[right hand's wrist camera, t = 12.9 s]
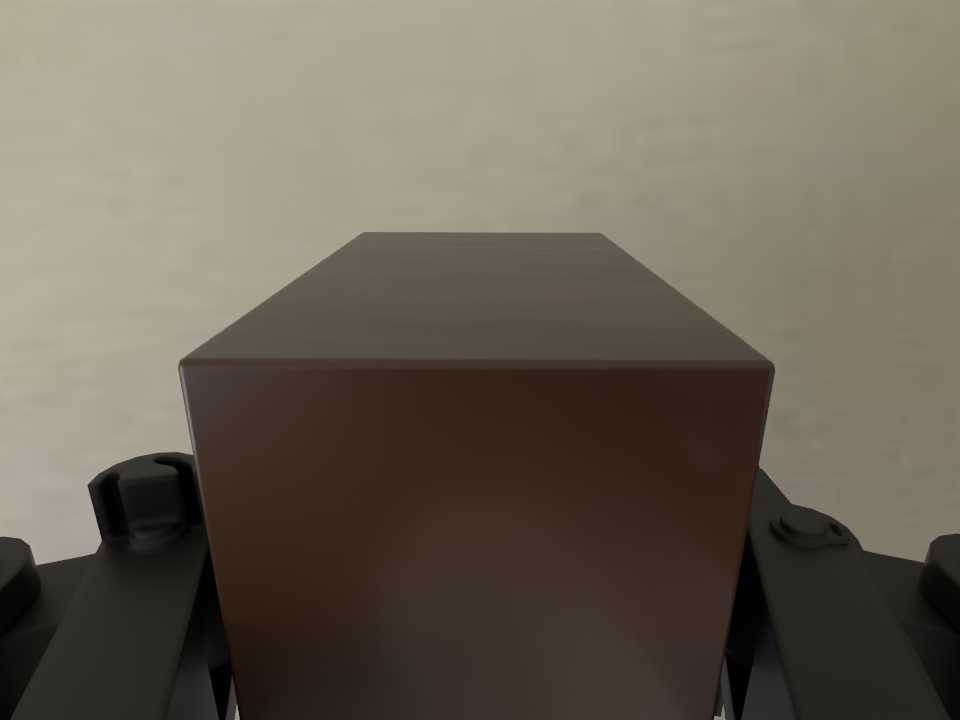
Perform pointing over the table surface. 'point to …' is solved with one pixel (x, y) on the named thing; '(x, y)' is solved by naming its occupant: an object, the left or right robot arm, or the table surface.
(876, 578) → the right robot arm
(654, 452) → the plank
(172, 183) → the table surface
